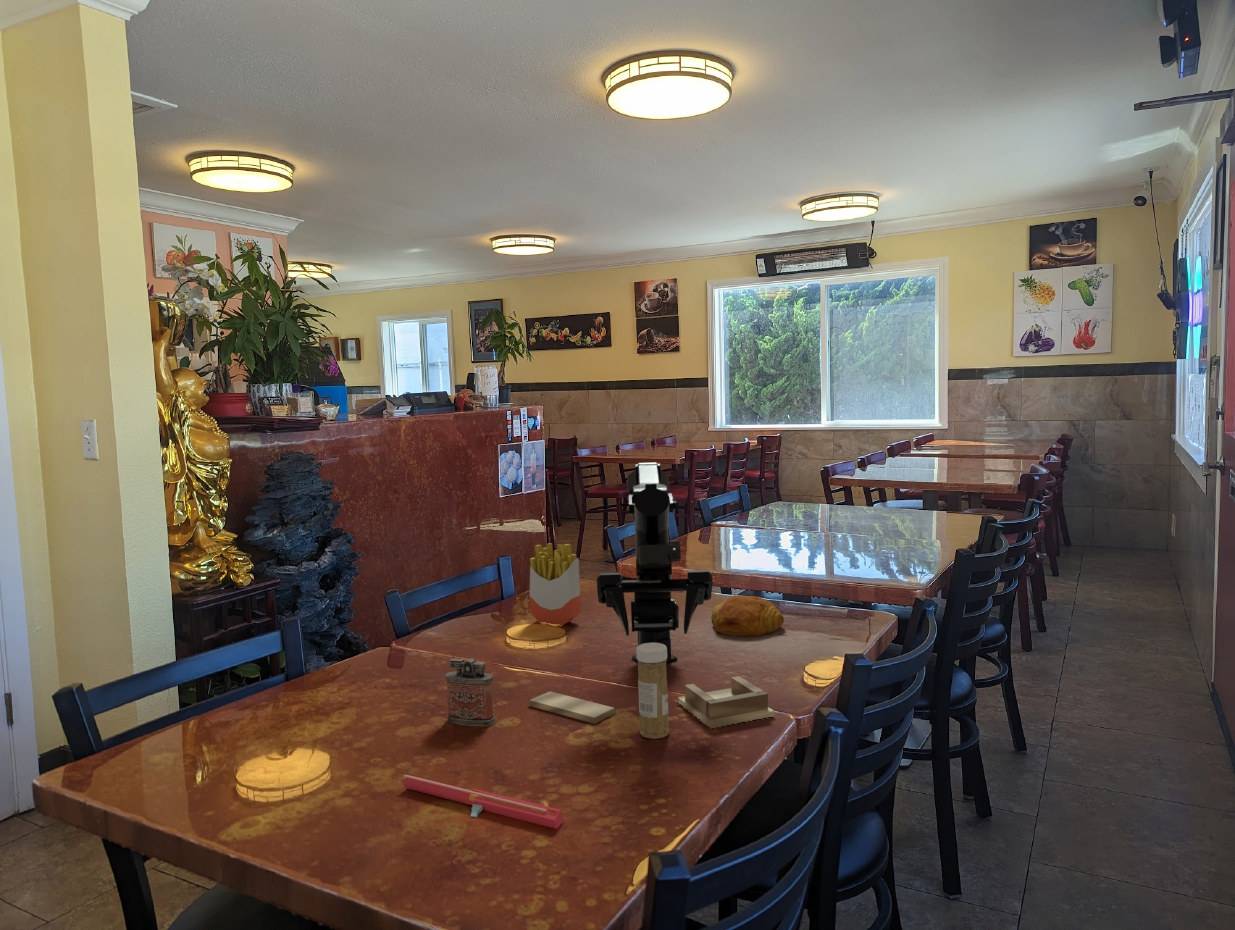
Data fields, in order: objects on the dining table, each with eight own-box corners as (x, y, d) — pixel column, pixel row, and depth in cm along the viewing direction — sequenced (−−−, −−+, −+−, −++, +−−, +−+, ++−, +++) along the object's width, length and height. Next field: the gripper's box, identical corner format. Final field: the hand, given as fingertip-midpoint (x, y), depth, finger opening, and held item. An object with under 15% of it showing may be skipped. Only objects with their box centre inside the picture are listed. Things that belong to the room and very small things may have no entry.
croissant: (730, 626, 191) (725, 591, 191) (793, 625, 182) (788, 589, 182) (698, 640, 179) (693, 603, 179) (763, 640, 170) (758, 601, 170)
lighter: (498, 719, 133) (495, 658, 132) (488, 727, 130) (485, 664, 129) (454, 714, 136) (451, 654, 135) (443, 722, 132) (440, 661, 132)
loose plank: (529, 708, 139) (529, 700, 139) (550, 699, 143) (550, 691, 142) (594, 726, 130) (594, 717, 130) (614, 716, 134) (614, 707, 134)
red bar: (549, 844, 97) (569, 815, 101) (545, 830, 96) (565, 801, 100) (395, 802, 109) (418, 777, 112) (390, 790, 108) (413, 765, 112)
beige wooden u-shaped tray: (677, 703, 137) (677, 682, 137) (737, 692, 141) (736, 672, 141) (711, 729, 126) (710, 706, 126) (774, 717, 130) (774, 695, 130)
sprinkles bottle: (675, 734, 125) (673, 646, 123) (650, 742, 122) (648, 652, 121) (657, 725, 128) (654, 639, 127) (633, 732, 126) (630, 645, 125)
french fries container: (571, 628, 185) (568, 547, 184) (529, 623, 190) (526, 545, 189) (581, 622, 189) (578, 544, 188) (540, 618, 194) (537, 542, 193)
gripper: (595, 525, 136) (594, 610, 126) (710, 521, 135) (718, 607, 126) (598, 561, 144) (598, 644, 135) (706, 558, 144) (714, 640, 134)
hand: (656, 633), depth 132 cm, fingers open, 9 cm apart
